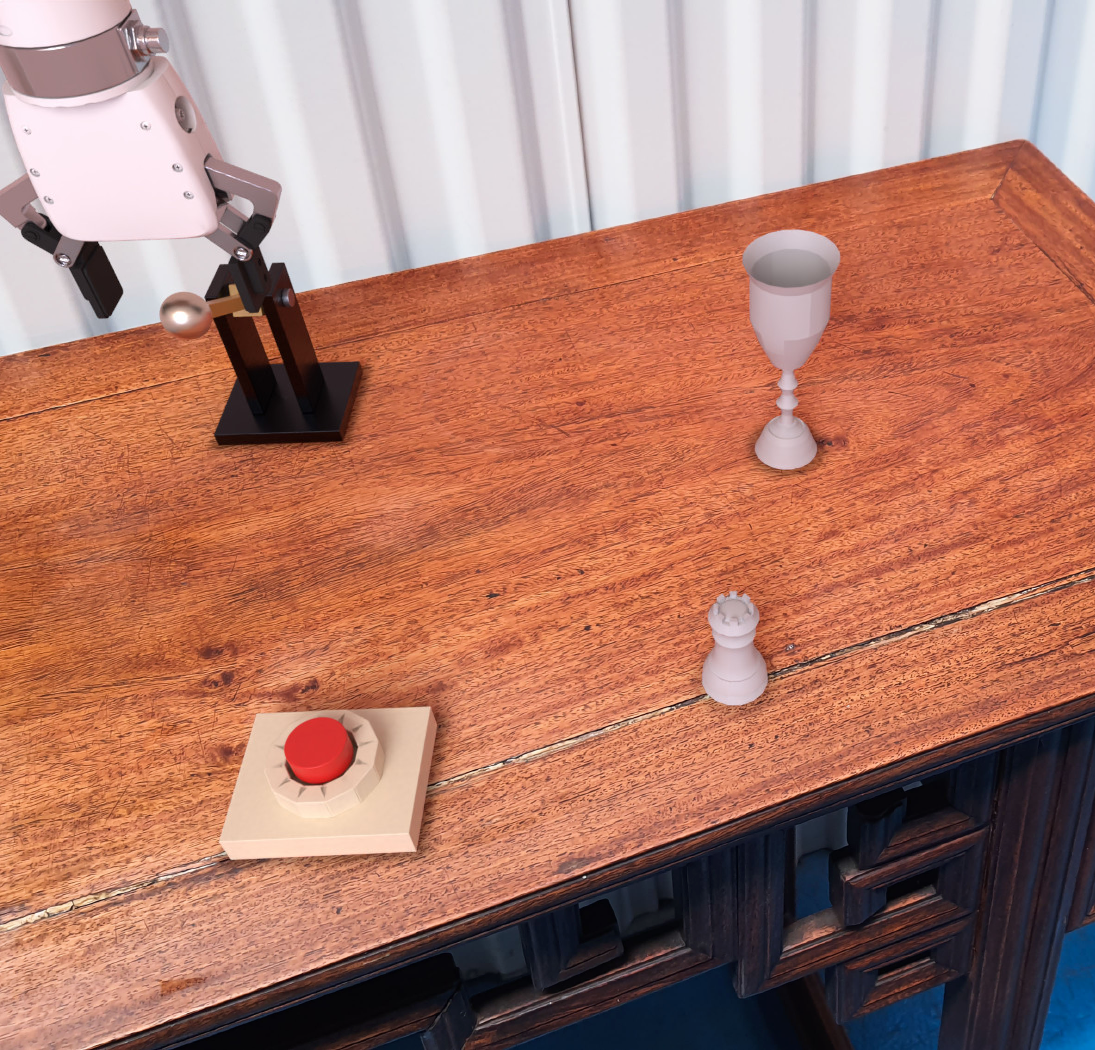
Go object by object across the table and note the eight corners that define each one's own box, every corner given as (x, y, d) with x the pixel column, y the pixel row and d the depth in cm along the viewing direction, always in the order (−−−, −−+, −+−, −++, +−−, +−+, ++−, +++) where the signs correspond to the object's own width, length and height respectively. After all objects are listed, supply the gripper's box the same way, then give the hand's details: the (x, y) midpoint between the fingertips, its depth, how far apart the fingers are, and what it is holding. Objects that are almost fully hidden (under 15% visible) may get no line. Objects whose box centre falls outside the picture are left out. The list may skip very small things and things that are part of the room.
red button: (286, 785, 69) (277, 769, 68) (299, 734, 71) (291, 717, 70) (347, 783, 69) (340, 767, 68) (358, 731, 71) (351, 715, 70)
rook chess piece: (761, 714, 77) (762, 639, 71) (695, 704, 77) (690, 629, 71) (773, 660, 80) (774, 584, 74) (709, 651, 80) (705, 574, 74)
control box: (230, 860, 69) (207, 826, 67) (266, 732, 76) (247, 696, 73) (416, 852, 70) (402, 818, 67) (437, 725, 76) (425, 689, 73)
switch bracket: (342, 441, 95) (298, 312, 86) (218, 445, 95) (160, 316, 85) (363, 371, 101) (323, 244, 92) (246, 375, 101) (194, 247, 91)
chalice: (767, 409, 98) (770, 220, 85) (842, 433, 96) (856, 243, 83) (728, 463, 93) (724, 272, 80) (805, 489, 91) (814, 298, 78)
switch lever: (204, 342, 77) (196, 293, 76) (155, 343, 77) (147, 294, 76) (282, 317, 92) (276, 275, 91) (241, 318, 92) (235, 276, 91)
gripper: (246, 18, 68) (327, 266, 81) (-55, 27, 68) (73, 275, 80) (211, 77, 63) (304, 333, 75) (-115, 88, 62) (32, 343, 75)
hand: (185, 303), depth 78 cm, fingers open, 9 cm apart
